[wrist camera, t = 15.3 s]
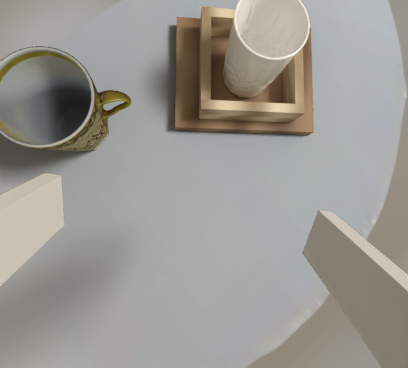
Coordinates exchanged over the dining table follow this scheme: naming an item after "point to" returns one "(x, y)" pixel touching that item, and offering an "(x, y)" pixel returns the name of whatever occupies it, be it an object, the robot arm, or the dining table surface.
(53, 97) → the ceramic cup
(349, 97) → the dining table surface
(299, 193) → the dining table surface
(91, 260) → the dining table surface
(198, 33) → the tray
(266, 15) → the white cup
